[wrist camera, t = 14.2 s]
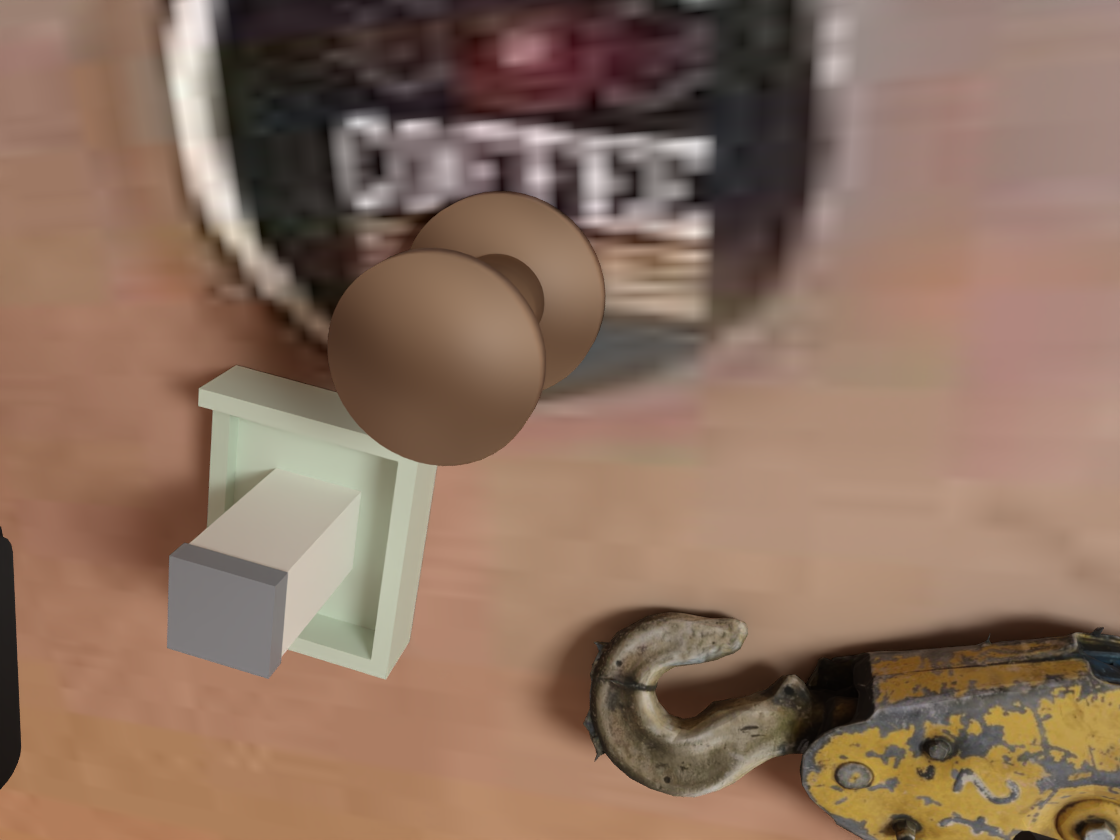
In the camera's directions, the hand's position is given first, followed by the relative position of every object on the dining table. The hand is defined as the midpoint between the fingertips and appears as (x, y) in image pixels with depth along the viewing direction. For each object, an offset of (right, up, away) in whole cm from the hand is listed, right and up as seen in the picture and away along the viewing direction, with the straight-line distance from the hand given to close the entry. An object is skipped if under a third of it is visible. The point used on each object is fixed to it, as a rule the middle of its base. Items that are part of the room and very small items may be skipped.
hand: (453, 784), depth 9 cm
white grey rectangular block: (-10, -1, +35) cm, 37 cm away
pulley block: (+17, -9, +34) cm, 39 cm away
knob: (-1, +8, +30) cm, 31 cm away
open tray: (-10, -1, +36) cm, 37 cm away
